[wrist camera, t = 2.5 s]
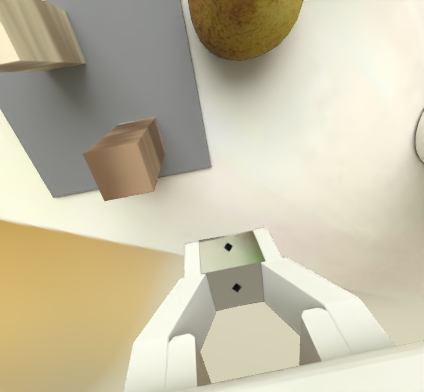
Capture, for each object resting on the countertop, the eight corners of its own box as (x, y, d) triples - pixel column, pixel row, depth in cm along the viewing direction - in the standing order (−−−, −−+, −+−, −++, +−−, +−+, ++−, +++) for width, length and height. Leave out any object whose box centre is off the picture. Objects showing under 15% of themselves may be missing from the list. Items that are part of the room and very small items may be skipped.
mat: (175, -25, 20) (175, -26, 20) (211, 165, 29) (211, 167, 29) (-49, 20, 20) (-53, 19, 20) (55, 196, 29) (53, 197, 29)
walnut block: (155, 117, 25) (137, 143, 16) (165, 151, 27) (153, 191, 18) (119, 124, 25) (82, 153, 16) (131, 158, 27) (104, 201, 18)
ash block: (66, 11, 20) (-26, -32, 12) (86, 63, 22) (20, 60, 14) (22, 20, 20) (-104, -16, 12) (45, 71, 22) (-47, 73, 14)
